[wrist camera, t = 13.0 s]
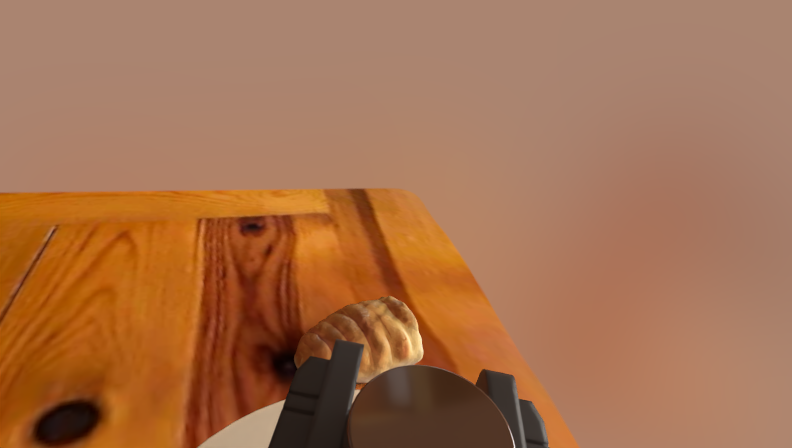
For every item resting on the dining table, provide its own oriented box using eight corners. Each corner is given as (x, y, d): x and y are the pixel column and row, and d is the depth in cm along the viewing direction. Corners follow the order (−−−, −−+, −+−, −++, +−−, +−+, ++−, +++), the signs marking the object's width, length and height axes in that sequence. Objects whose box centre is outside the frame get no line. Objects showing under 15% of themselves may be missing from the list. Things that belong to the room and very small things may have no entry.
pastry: (318, 413, 30) (323, 374, 28) (278, 344, 35) (281, 306, 33) (427, 365, 36) (437, 330, 34) (380, 311, 40) (387, 277, 38)
